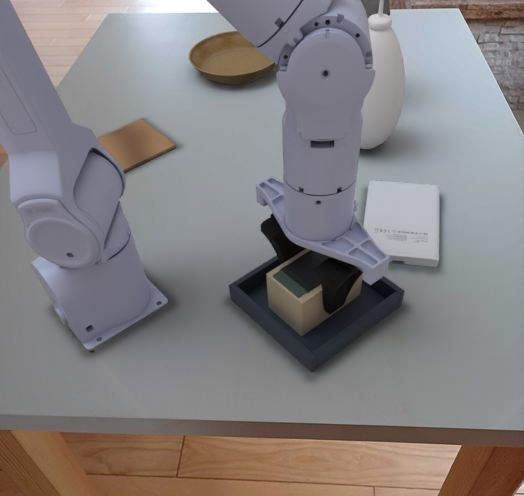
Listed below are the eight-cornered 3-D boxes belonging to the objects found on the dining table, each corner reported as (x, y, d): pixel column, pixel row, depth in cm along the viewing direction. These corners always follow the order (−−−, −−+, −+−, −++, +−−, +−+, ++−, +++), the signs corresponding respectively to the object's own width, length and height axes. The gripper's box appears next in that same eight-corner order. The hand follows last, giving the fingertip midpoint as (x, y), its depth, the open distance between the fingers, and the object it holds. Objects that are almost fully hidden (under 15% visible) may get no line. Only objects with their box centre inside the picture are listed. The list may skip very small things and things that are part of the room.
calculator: (301, 336, 50) (301, 302, 46) (268, 307, 52) (265, 272, 48) (360, 295, 53) (365, 258, 49) (326, 269, 55) (328, 232, 51)
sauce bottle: (327, 135, 71) (335, -19, 56) (381, 124, 72) (403, -30, 57) (347, 167, 66) (361, 10, 52) (404, 156, 67) (434, -3, 53)
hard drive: (437, 196, 62) (436, 270, 55) (367, 191, 63) (358, 262, 56) (440, 185, 61) (440, 259, 54) (369, 179, 62) (359, 251, 55)
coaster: (119, 175, 68) (118, 172, 68) (86, 146, 72) (85, 144, 72) (176, 147, 71) (175, 144, 71) (141, 121, 75) (141, 119, 75)
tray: (311, 375, 48) (311, 359, 46) (230, 301, 54) (228, 285, 52) (401, 307, 52) (405, 290, 50) (317, 246, 58) (318, 229, 56)
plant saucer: (227, 102, 77) (226, 85, 75) (173, 68, 84) (170, 51, 82) (302, 68, 82) (302, 50, 80) (245, 38, 89) (243, 22, 87)
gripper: (427, 193, 38) (398, 312, 49) (296, 117, 45) (296, 236, 56) (359, 237, 36) (345, 352, 47) (232, 150, 43) (245, 268, 54)
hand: (315, 292), depth 51 cm, fingers closed on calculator, 5 cm apart
